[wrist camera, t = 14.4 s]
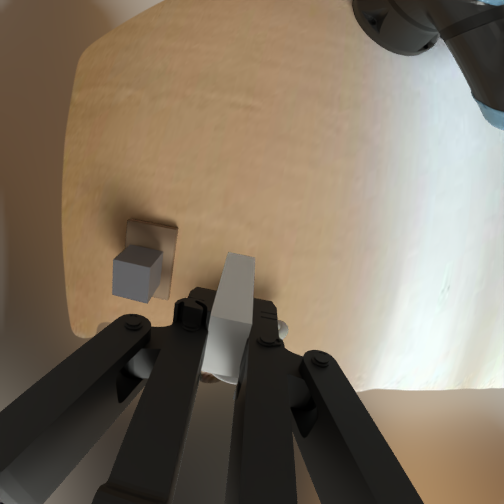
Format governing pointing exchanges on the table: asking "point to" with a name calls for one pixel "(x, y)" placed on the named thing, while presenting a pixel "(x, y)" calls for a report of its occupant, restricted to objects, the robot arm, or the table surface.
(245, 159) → the table surface
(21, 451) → the robot arm
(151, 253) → the grey upright block
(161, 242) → the stand
